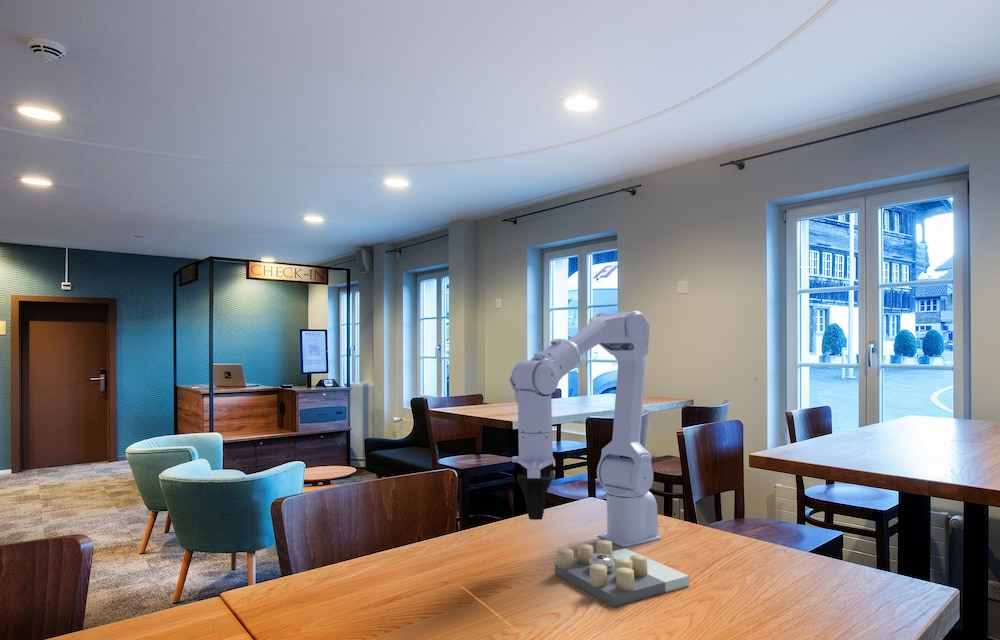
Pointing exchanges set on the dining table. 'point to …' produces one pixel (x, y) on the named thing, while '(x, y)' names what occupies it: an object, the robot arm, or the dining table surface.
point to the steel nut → (602, 561)
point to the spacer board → (611, 590)
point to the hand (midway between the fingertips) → (536, 512)
